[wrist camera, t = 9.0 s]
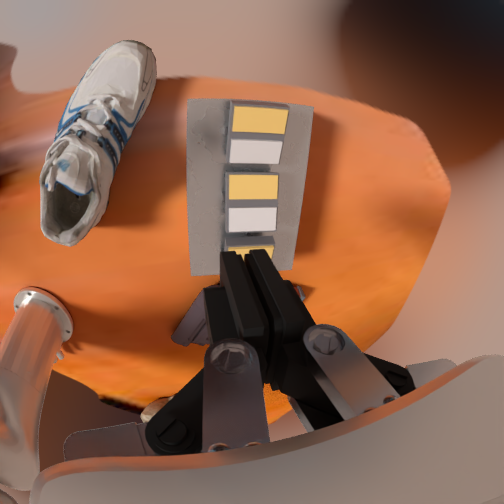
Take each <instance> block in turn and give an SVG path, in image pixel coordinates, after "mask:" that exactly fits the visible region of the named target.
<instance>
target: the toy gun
mask: <svg viewBox="0 0 504 504" xmlns="http://www.w3.org/2000/svg"><path fill="white" fill-rule="evenodd" d="M210 287H220V285H211V286H208V287H206V288H210ZM293 287H294V286H293ZM294 288H295V290H296V292H297V293H298V295H299V297H300V298H301V300H302V301H303V300H304V299H305V295H304V293H303V290H302V288H301V286H297V287H294ZM171 339H172V340H173V341H174V342H175V343H177V344H180V345H183V346H188V345H189V344H190V343H196V344H199V345H202V346H204V345H205V344H209V338H208V332H207V326H206V319H205V309H204V296H203V290H202V291H201V292H200V293H199V295H198V296H197V298H196V299H195V301H194V302H193V304H192V305H191V307H190V309H189V310H188V312H187V313H186V315H185V316H184V318H183V319H182V321H181V323H180V324H179V326H178V327H177V329H176V330H175V332H174V333H173V335H172V336H171Z"/></svg>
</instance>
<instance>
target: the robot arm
mask: <svg viewBox="0 0 504 504" xmlns="http://www.w3.org/2000/svg"><path fill="white" fill-rule="evenodd" d="M203 296H204V309H205V319H206V326H207V332H208V338H209V344H210V346H209V348H208V349H207V350H206V353H205V357H204V368H203V369H202V370H201V371H200V372H199V373H198V374H197V375H196V376H195V377H194V378H193V379H191V380H190V381H189V382H188V383H187V384H186V385H185V386H184V387H183V388H182V389H181V390H180V391H179V392H178V393H177V394H176V395H175V396H174V397H173V398H172V399H171V400H170V401H169V402H168V403H167V404H166V405H164V406H163V407H162V408H161V409H160V410H159V411H158V412H157V413H156V414H155V415H154V416H153V417H152V418H151V419H150V420H149V422H146V423H142V424H136V423H135V422H133V423H128V424H123V425H118V426H112V427H106V428H100V429H94V430H86V431H79V432H76V433H72V434H71V435H70V436H69V437H68V438H67V439H66V441H65V443H64V457H65V462H63V463H60V464H56V465H54V466H51V467H49V468H47V469H45V470H44V471H42V472H41V473H40V469H39V453H38V431H39V422H40V415H41V410H42V406H43V402H44V397H45V393H46V389H47V385H48V381H49V377H50V374H51V370H52V367H53V363H56V362H57V360H58V358H59V359H60V360H61V359H63V358H64V354H63V353H62V351H61V350H60V349H61V346H62V343H63V342H65V341H67V340H68V339H69V338H70V337H71V335H72V332H73V321H72V318H71V316H70V314H69V312H68V311H67V309H66V308H65V307H64V305H63V304H62V303H61V302H60V301H59V300H58V299H57V298H55V297H54V296H53V295H51V294H49V293H48V292H46V291H44V290H41V289H39V288H34V287H26V288H23V289H21V290H20V291H19V292H18V293H17V295H16V296H15V299H14V309H15V312H16V314H15V315H14V317H13V319H12V321H11V323H10V325H9V327H8V329H7V331H6V333H5V335H4V338H3V340H2V342H1V344H0V483H1V484H3V485H6V486H8V487H10V488H13V489H16V490H22V491H28V490H31V494H30V501H29V504H504V356H501V355H484V356H479V357H476V358H472V359H470V360H468V361H465V362H464V363H462V364H460V365H458V366H456V364H455V363H453V362H452V361H451V360H448V359H439V360H434V361H429V362H424V363H419V364H412V365H406V367H405V368H403V367H401V366H399V365H397V364H394V363H391V362H388V361H385V360H382V359H379V358H376V357H373V356H370V355H368V354H365V353H362V352H361V350H360V349H359V348H358V347H357V346H356V345H355V344H354V342H353V341H352V340H351V339H350V338H349V337H348V336H347V335H346V333H344V332H343V331H342V330H341V329H339V328H337V327H335V326H332V325H328V324H319V325H316V324H315V322H314V320H313V319H312V317H311V315H310V314H309V312H308V310H307V308H306V307H305V305H304V303H303V302H302V300H301V298H300V297H299V295H298V293H297V292H296V290H295V288H294V287H293V285H292V283H291V282H290V281H289V280H283V279H282V278H281V276H280V274H279V272H278V271H277V269H276V267H275V265H274V264H273V262H272V260H271V258H270V257H269V255H268V253H267V251H266V250H265V249H252V250H250V251H249V254H245V255H244V260H243V258H242V255H241V254H236V252H235V251H223V252H220V287H210V288H203ZM56 355H57V356H58V358H57V356H56ZM264 382H265V384H268V383H270V385H271V388H272V391H275V390H280V391H281V392H282V393H284V394H286V395H287V398H288V401H289V403H290V405H291V406H292V408H293V409H294V411H295V413H296V414H297V416H298V418H299V419H300V421H301V423H302V424H303V426H304V427H305V429H306V431H307V432H308V433H305V434H302V435H298V436H295V437H291V438H286V439H282V440H278V441H274V442H270V437H269V430H268V423H267V416H266V409H265V402H264V395H263V388H264ZM39 473H40V474H39ZM0 504H18V503H17V502H16V500H15V499H14V498H13V497H12V496H10V495H9V494H7V493H6V492H4V491H3V490H1V489H0Z"/></svg>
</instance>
